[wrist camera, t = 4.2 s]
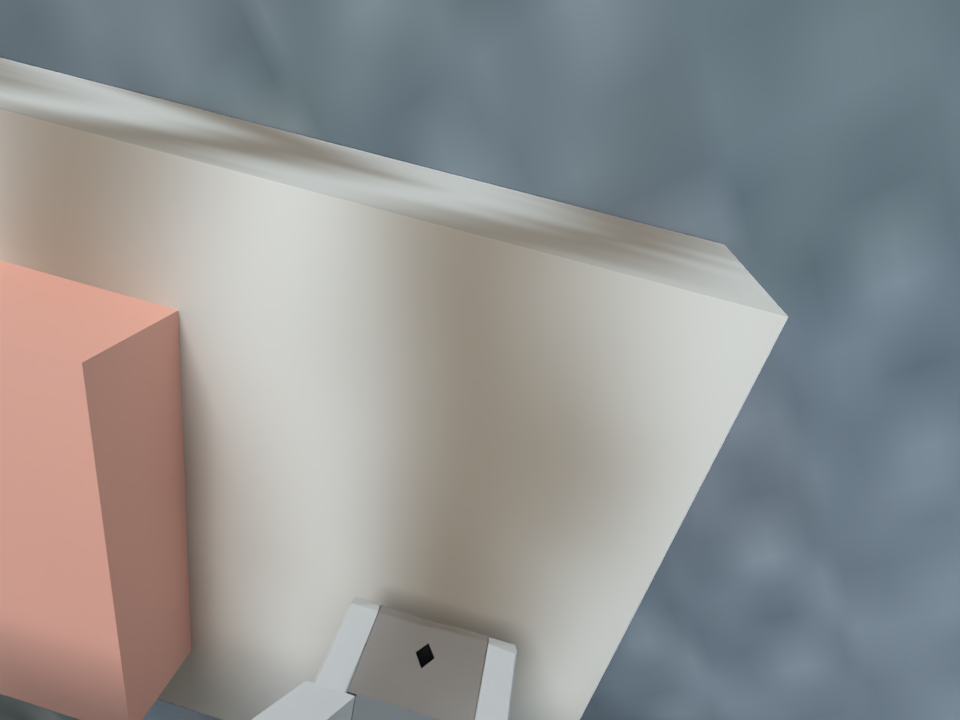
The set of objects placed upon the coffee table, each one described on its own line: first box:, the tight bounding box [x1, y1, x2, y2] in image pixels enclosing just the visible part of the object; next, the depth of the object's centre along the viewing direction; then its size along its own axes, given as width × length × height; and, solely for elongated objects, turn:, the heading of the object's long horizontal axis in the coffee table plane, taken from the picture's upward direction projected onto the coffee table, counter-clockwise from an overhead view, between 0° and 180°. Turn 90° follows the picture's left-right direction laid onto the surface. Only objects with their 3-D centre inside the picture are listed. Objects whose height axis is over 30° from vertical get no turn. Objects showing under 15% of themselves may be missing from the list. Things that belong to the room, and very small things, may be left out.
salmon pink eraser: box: [0, 261, 191, 720], centre depth 11 cm, size 6×9×2 cm, turn 168°
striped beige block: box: [0, 58, 788, 720], centre depth 13 cm, size 20×14×4 cm
